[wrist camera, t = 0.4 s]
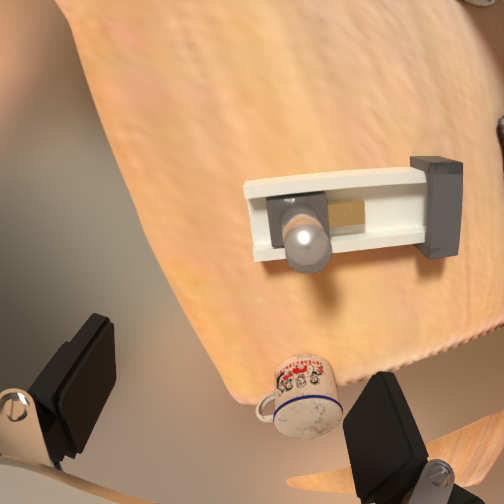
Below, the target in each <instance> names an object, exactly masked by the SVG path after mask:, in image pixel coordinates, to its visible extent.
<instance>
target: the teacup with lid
mask: <svg viewBox="0 0 504 504" xmlns="http://www.w3.org/2000/svg"><path fill="white" fill-rule="evenodd" d="M274 399H275V413H274V414H272V415H267V416H264V415H262V411H263V409H264V407H265V406H266V404H267V403H269V402H270V401H272V400H274ZM342 414H343V409H342V406H341V405H340V403H339V399H338V394H337V390H336V385H335V380H334V376H333V371H332V367H331V365H330V364H329V362H328V361H327V360H325V359H324V358H322V357H320V356H317V355H312V354H302V355H297V356H293V357H291V358H289V359H287V360H285V361H284V362H282V363H281V364H280V365H279V366H278V368H277V370H276V372H275V392H273V393H270V394H268V395H266V396H264V397H263V398H262V399H261V400H260V401H259V403H258V405H257V407H256V416H257V418H258V419H259V420H260V421H262V422H274V424H275V426H276V428H277V429H278V430H279V431H280V432H281V433H283V434H285V435H286V436H289V437H293V438H304V439H307V440H310V439H314V438H316V437H317V436H321V435H323V434H326V433H328V432H330V431H331V430H333V429H334V428H335V427H336V426H337V425H338V424H339V422H340V420H341V418H342Z"/></svg>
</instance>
